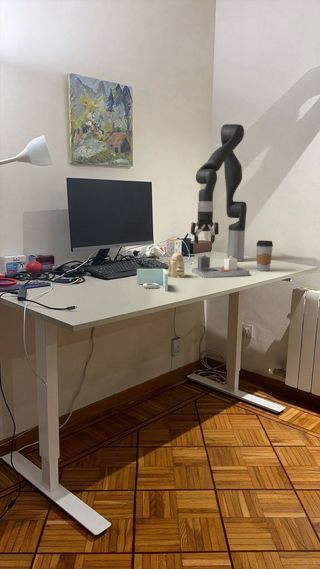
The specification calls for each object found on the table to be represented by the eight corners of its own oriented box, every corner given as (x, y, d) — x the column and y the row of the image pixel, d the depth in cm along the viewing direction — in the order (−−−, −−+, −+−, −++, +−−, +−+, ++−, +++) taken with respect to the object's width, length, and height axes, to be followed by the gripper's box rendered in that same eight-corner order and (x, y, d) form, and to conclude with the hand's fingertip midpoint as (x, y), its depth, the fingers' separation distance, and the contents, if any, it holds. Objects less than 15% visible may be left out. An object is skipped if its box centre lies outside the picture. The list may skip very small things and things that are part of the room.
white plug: (224, 272, 228) (224, 255, 226) (232, 272, 229) (233, 255, 228) (228, 274, 224) (229, 257, 222) (236, 273, 225) (237, 256, 223)
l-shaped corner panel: (136, 286, 197) (136, 268, 196) (164, 286, 198) (165, 268, 196) (137, 292, 185) (137, 273, 184) (167, 292, 186) (167, 273, 185)
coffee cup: (270, 269, 242) (272, 240, 239) (272, 271, 234) (274, 242, 231) (254, 268, 242) (255, 240, 240) (255, 271, 234) (257, 241, 231)
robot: (167, 279, 210) (167, 246, 208) (163, 276, 218) (163, 244, 215) (189, 279, 213) (190, 246, 210) (184, 276, 220) (185, 244, 217)
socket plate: (191, 273, 227) (191, 266, 227) (235, 271, 235) (235, 264, 234) (203, 278, 214) (203, 271, 214) (249, 275, 222) (249, 269, 221)
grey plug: (197, 270, 237) (197, 254, 236) (205, 269, 239) (206, 253, 237) (201, 271, 233) (201, 255, 231) (209, 271, 234) (209, 255, 233)
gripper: (215, 210, 236) (213, 242, 239) (189, 210, 231) (188, 242, 234) (221, 210, 229) (220, 243, 232) (195, 210, 224) (194, 244, 227)
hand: (204, 243), depth 233 cm, fingers open, 8 cm apart
